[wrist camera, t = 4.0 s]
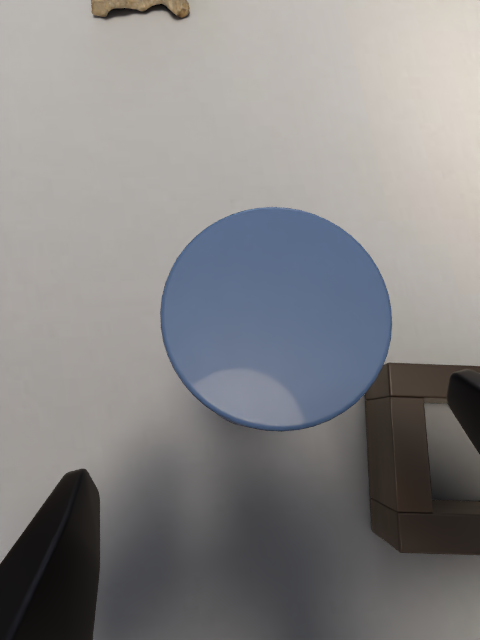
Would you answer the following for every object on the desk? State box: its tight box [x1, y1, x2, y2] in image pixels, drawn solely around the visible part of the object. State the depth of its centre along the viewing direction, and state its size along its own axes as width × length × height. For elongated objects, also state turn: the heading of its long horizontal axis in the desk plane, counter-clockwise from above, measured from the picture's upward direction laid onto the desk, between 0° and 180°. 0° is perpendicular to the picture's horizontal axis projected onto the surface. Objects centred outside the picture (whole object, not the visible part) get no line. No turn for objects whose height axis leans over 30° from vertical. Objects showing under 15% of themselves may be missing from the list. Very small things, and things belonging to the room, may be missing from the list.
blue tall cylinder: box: [160, 207, 392, 431], centre depth 12 cm, size 3×3×14 cm
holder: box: [365, 363, 480, 555], centre depth 17 cm, size 7×7×3 cm
